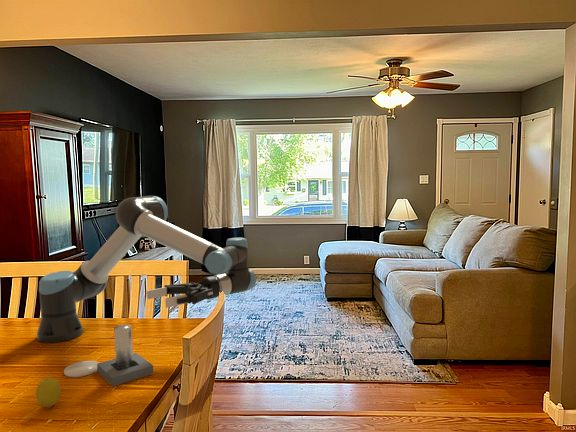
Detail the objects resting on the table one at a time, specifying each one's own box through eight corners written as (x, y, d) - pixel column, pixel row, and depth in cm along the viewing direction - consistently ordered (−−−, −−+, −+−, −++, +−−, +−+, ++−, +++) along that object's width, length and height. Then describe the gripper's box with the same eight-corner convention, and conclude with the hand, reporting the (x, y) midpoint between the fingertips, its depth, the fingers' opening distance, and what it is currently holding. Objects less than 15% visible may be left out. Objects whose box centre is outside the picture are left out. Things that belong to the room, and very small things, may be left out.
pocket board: (97, 371, 133) (96, 363, 132) (136, 360, 140) (135, 352, 140) (112, 386, 123) (112, 377, 123) (153, 373, 131) (153, 365, 130)
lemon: (51, 414, 109) (49, 383, 108) (31, 412, 110) (29, 381, 109) (66, 403, 114) (64, 373, 114) (48, 401, 115) (46, 371, 115)
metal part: (114, 372, 132) (111, 327, 131) (130, 367, 135) (127, 323, 134) (120, 377, 128) (117, 331, 127) (136, 372, 131) (133, 327, 130)
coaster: (60, 369, 135) (60, 367, 135) (94, 360, 141) (94, 358, 141) (69, 380, 127) (69, 377, 127) (104, 370, 134) (104, 367, 134)
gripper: (236, 304, 141) (175, 319, 128) (197, 291, 160) (140, 302, 147) (235, 281, 141) (174, 294, 127) (196, 270, 160) (139, 280, 146)
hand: (156, 298), depth 137 cm, fingers open, 13 cm apart
